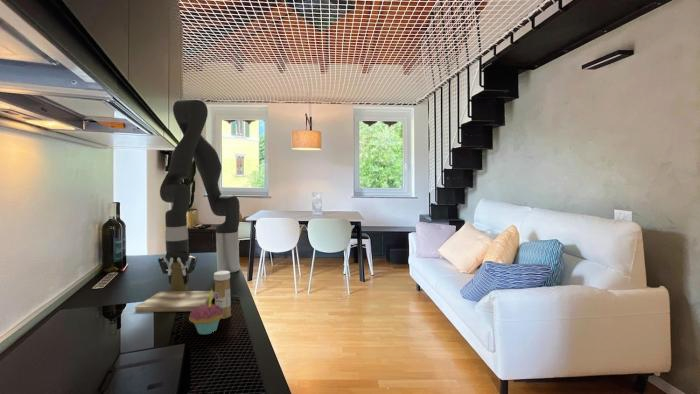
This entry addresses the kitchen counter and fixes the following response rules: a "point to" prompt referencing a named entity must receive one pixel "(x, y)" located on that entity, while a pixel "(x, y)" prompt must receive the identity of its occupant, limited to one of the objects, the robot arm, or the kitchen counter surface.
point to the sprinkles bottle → (223, 292)
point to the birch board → (175, 301)
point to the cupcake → (206, 317)
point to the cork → (177, 278)
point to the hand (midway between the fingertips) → (178, 284)
